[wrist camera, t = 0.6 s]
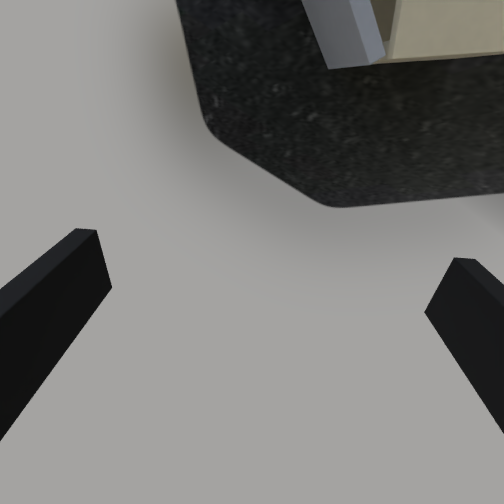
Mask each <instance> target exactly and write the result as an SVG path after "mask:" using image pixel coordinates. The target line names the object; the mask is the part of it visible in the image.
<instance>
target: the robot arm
mask: <svg viewBox="0 0 504 504" xmlns="http://www.w3.org/2000/svg"><path fill="white" fill-rule="evenodd" d="M111 288H112V285H111V282H110V278H109V274H108V271H107V267H106V263H105V259H104V256H103V252H102V248H101V245H100V241H99V238H98V234H97V230H91V229H79V228H78V229H77V228H76V229H74V230H73V231H72V232H71V233H69V234H68V235H67V236H66V237H64V238H63V239H62V240H61V241H59V242H58V243H57V244H56V245H55V246H53V247H52V248H51V249H49V250H48V251H47V252H46V253H45V254H43V255H42V256H41V257H40V258H38V259H37V260H36V261H35V262H34V263H32V264H31V265H30V266H28V267H27V268H26V269H25V270H23V271H22V272H21V273H20V274H18V275H17V276H16V277H15V278H13V279H12V280H11V281H10V282H8V283H7V284H6V285H5V286H4V287H2V288H1V289H0V441H1V440H2V438H3V437H4V435H5V434H6V433H7V431H8V430H9V428H10V427H11V425H12V424H13V423H14V422H15V420H16V419H17V418H18V416H19V415H20V413H21V412H22V411H23V409H24V408H25V407H26V405H27V404H28V402H29V401H30V399H31V398H32V397H33V396H34V394H35V393H36V391H37V390H38V389H39V387H40V386H41V385H42V383H43V382H44V380H45V379H46V378H47V376H48V375H49V374H50V372H51V371H52V369H53V368H54V367H55V365H56V364H57V363H58V361H59V360H60V359H61V357H62V356H63V354H64V353H65V352H66V350H67V349H68V348H69V346H70V345H71V343H72V342H73V341H74V339H75V338H76V337H77V335H78V334H79V332H80V331H81V330H82V328H83V327H84V325H85V324H86V323H87V321H88V320H89V319H90V317H91V316H92V315H93V313H94V312H95V310H96V309H97V308H98V306H99V305H100V303H101V302H102V301H103V299H104V298H105V297H106V295H107V294H108V293H109V291H110V290H111ZM424 313H425V314H426V316H427V317H428V319H429V320H430V322H431V323H432V325H433V326H434V328H435V329H436V331H437V332H438V334H439V335H440V337H441V338H442V340H443V342H444V343H445V345H446V346H447V348H448V349H449V351H450V352H451V354H452V355H453V357H454V358H455V360H456V361H457V363H458V364H459V366H460V368H461V369H462V371H463V372H464V374H465V375H466V377H467V378H468V380H469V381H470V383H471V384H472V386H473V387H474V389H475V391H476V392H477V394H478V395H479V397H480V398H481V399H482V401H483V403H484V404H485V405H486V407H487V409H488V410H489V412H490V413H491V415H492V416H493V418H494V419H495V421H496V423H497V424H498V425H499V427H500V429H501V430H502V432H503V433H504V285H503V284H502V283H501V282H500V281H499V280H498V279H496V277H495V276H493V275H492V274H491V273H490V272H489V271H488V270H487V269H486V268H485V267H483V266H482V265H481V264H480V263H479V262H478V261H477V260H476V259H468V258H454V259H453V260H452V262H451V264H450V266H449V268H448V270H447V271H446V273H445V275H444V277H443V279H442V281H441V282H440V284H439V286H438V288H437V290H436V292H435V293H434V295H433V297H432V299H431V301H430V303H429V304H428V306H427V308H426V310H425V312H424Z"/></svg>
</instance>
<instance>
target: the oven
mask: <svg viewBox="0 0 504 504" xmlns="http://www.w3.org/2000/svg"><path fill="white" fill-rule="evenodd" d="M370 2H371V5H372V9H373V12H374V15H375V19H376V22H377V26H378V29H379V32H380V36H381V39H382V43H383V46H384V49H385V53H386V55H385V56H384V57H382V58H381V59H379V60H378V61H376V62H375V63H373V64H381V63H396V62H411V61H426V60H441V59H455V58H466V57H476V56H487V55H498V54H504V0H370Z"/></svg>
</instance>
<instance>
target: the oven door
mask: <svg viewBox="0 0 504 504" xmlns="http://www.w3.org/2000/svg"><path fill="white" fill-rule="evenodd" d="M301 1H302V3H303V6H304V8H305V11H306V13H307V16H308V19H309V21H310V24H311V26H312V29H313V31H314V34H315V36H316V39H317V42H318V44H319V47H320V49H321V52H322V54H323V57H324V60H325V62H326V65H327V67H328V69H337V68H346V67H355V66H365V65H371V64H373V63H375V62H376V61H378V60H379V59H381V58H382V57H384V56H385V55H386V53H385V49H384V46H383V43H382V39H381V36H380V32H379V29H378V26H377V22H376V19H375V15H374V12H373V9H372V5H371V2H370V0H301Z"/></svg>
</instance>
